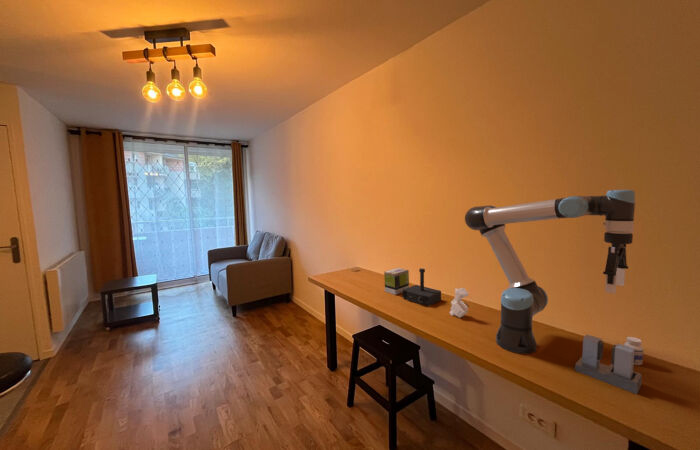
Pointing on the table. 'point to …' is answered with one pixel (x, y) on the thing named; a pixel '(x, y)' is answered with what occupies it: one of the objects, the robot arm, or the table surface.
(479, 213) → the robot arm
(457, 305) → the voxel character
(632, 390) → the grey block fixture
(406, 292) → the dark box with post
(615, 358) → the long gray rectangular block
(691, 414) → the table surface
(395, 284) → the tea box
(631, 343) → the pill bottle
